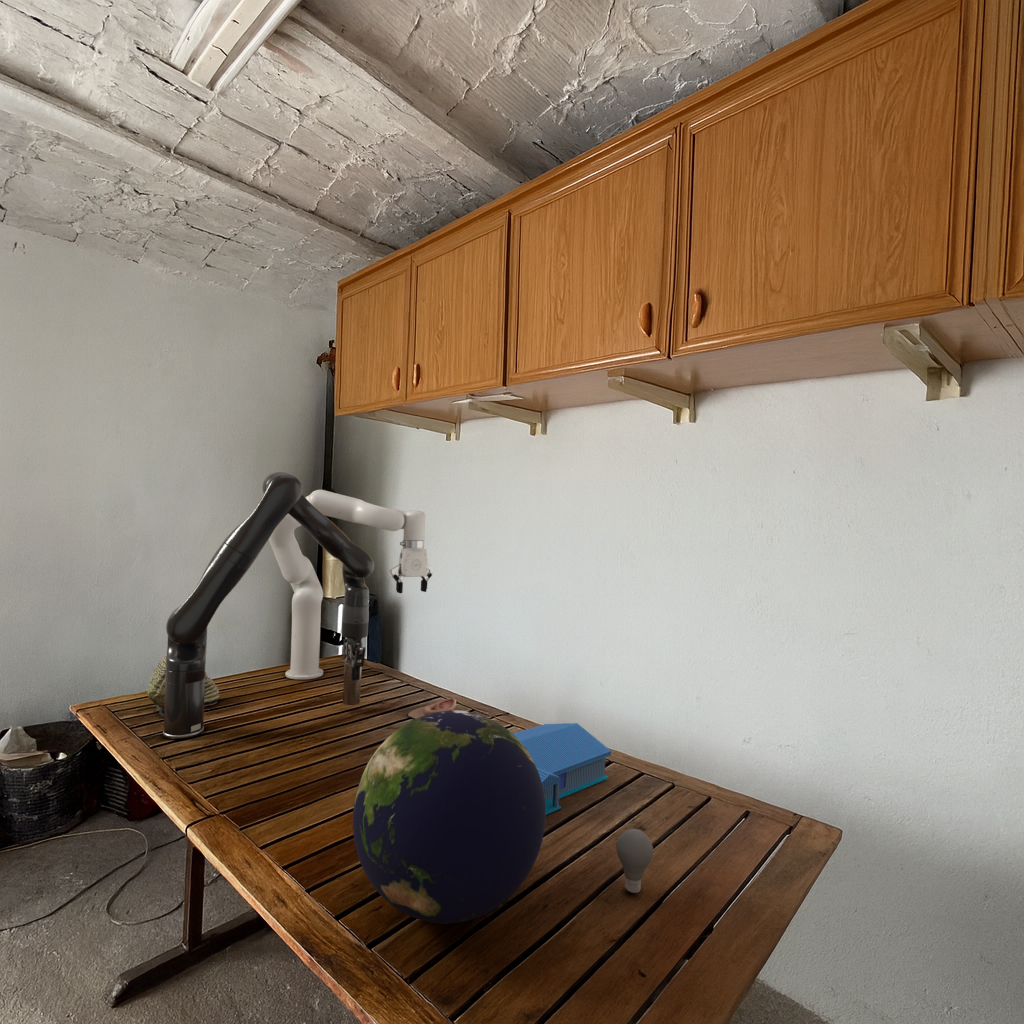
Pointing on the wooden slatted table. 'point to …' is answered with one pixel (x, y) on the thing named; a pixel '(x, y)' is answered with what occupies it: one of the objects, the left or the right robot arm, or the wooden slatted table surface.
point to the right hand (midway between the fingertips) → (411, 592)
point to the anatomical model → (434, 708)
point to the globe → (449, 817)
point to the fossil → (158, 687)
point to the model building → (564, 759)
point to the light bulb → (634, 857)
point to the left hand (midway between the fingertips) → (352, 677)
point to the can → (351, 685)
